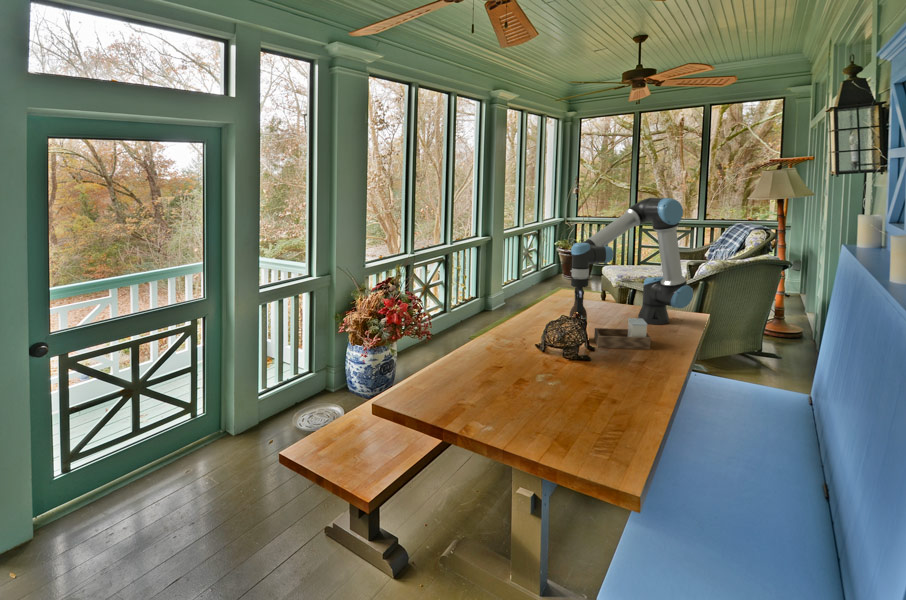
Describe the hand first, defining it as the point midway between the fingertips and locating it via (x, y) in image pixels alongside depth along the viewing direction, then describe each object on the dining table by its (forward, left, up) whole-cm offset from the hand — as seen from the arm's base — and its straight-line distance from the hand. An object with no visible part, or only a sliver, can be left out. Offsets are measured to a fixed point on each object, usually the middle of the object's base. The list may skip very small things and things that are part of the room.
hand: (577, 326), depth 250 cm
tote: (-11, +16, -6) cm, 20 cm away
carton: (-16, +20, -5) cm, 26 cm away
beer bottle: (0, 0, -7) cm, 7 cm away
